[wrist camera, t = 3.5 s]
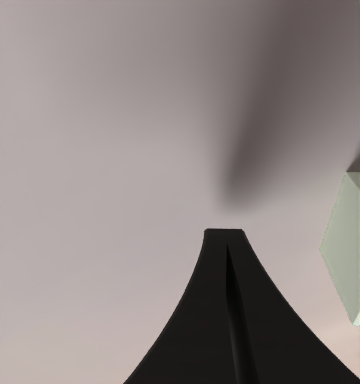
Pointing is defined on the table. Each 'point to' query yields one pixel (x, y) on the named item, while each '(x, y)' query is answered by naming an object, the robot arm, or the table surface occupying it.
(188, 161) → the table surface
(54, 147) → the table surface
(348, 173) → the sage bar
